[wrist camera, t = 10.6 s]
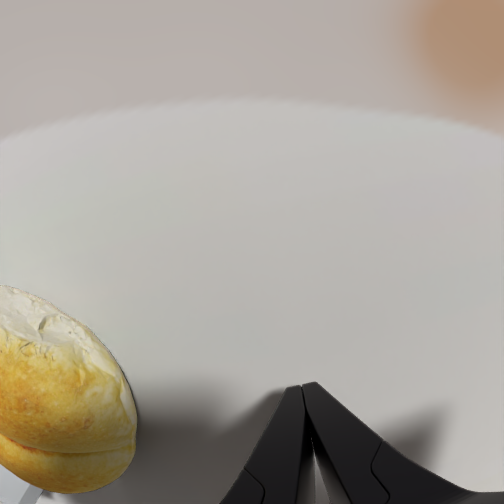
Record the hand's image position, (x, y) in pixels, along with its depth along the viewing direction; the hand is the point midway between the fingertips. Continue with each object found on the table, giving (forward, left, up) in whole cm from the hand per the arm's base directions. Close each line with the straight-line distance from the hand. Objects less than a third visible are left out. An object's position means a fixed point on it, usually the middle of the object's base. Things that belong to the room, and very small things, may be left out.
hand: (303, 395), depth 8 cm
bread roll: (0, +10, -2) cm, 10 cm away
